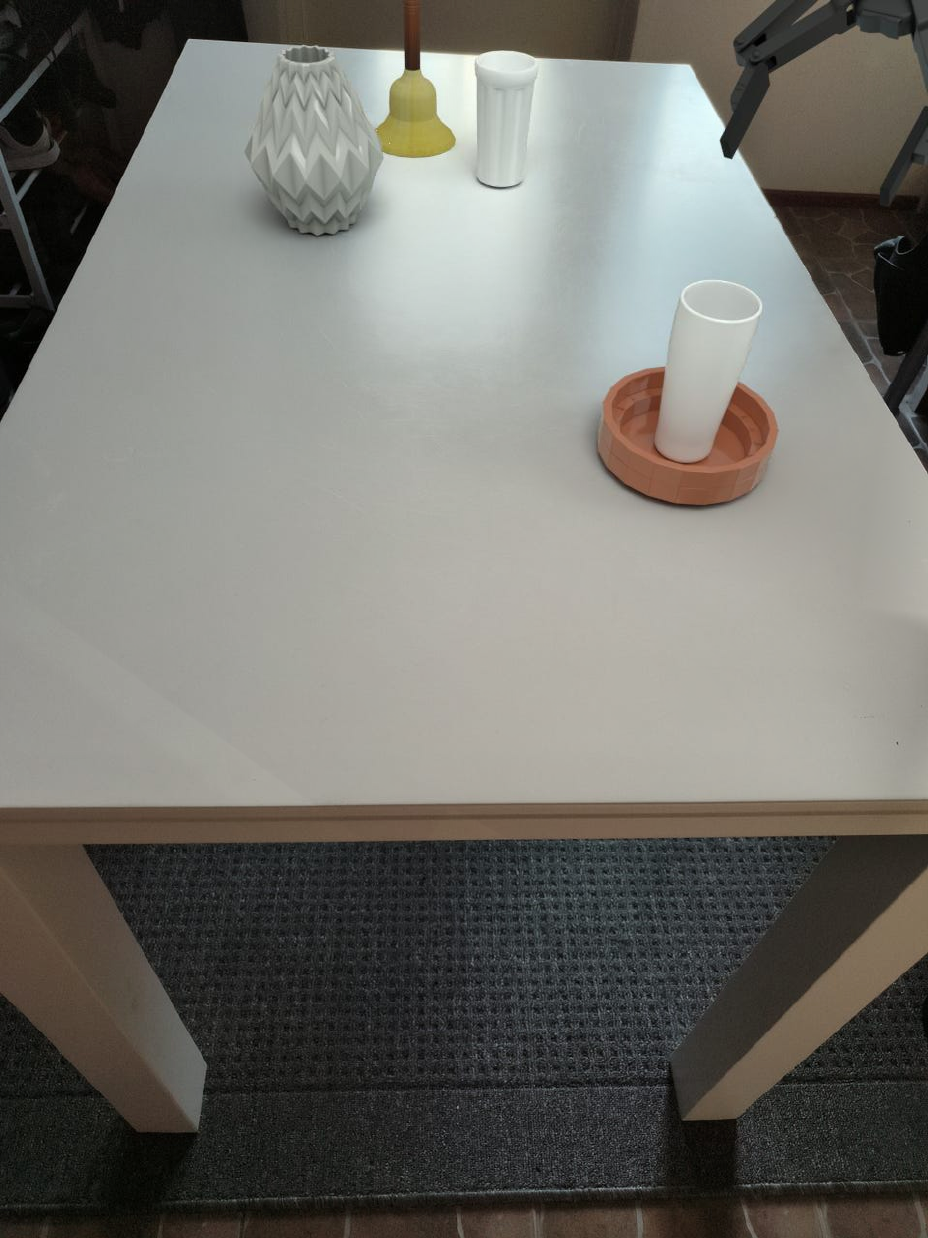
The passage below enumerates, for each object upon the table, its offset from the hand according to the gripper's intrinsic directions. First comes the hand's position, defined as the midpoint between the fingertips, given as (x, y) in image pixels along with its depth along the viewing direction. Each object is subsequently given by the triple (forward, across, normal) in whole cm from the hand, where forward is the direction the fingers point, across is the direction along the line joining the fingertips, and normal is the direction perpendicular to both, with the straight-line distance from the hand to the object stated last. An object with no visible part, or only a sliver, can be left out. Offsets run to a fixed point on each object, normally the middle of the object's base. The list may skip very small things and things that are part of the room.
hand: (801, 173), depth 72 cm
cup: (-3, +48, -35) cm, 59 cm away
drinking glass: (+23, 0, -8) cm, 24 cm away
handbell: (-5, +65, -37) cm, 75 cm away
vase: (+14, +58, -18) cm, 62 cm away
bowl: (+23, 0, -9) cm, 25 cm away
